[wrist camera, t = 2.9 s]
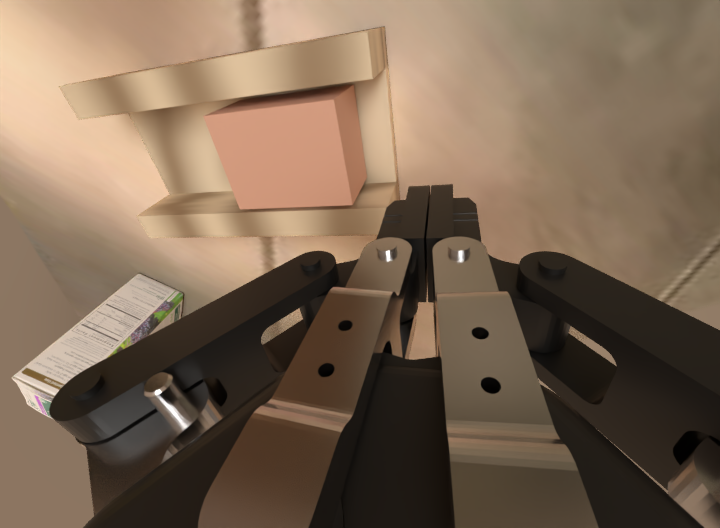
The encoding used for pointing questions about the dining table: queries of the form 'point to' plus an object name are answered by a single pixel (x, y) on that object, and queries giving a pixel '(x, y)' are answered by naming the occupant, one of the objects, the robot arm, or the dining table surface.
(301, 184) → the block
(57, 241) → the dining table surface
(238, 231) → the chute
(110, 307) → the syrup box
